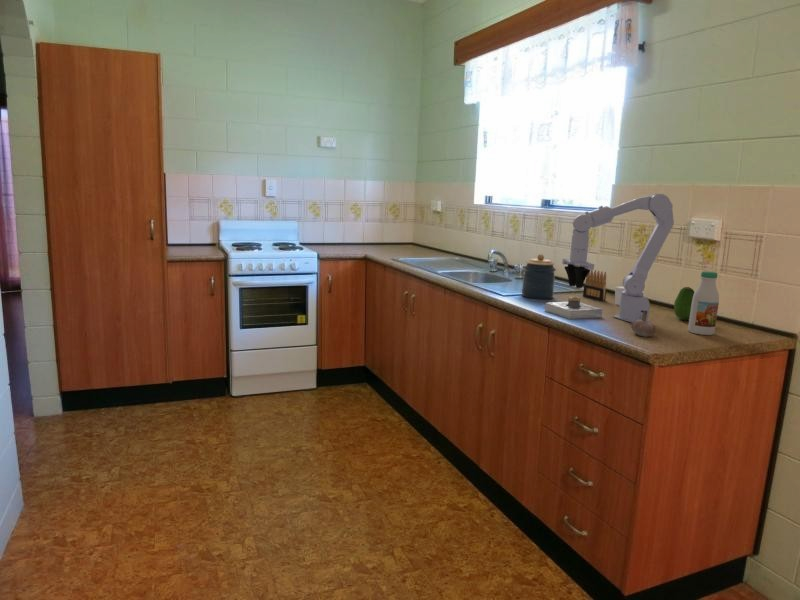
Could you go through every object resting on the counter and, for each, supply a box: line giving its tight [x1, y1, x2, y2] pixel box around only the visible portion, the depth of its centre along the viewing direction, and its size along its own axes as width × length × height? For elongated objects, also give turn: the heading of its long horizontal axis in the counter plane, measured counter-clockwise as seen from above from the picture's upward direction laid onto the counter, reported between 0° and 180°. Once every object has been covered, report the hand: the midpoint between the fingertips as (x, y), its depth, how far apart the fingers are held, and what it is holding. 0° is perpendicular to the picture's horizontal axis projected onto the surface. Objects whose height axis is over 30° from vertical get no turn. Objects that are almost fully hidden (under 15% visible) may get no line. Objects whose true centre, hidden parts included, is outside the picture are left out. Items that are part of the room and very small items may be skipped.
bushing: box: [567, 296, 581, 307], centre depth 212 cm, size 4×4×6 cm
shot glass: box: [614, 285, 625, 306], centre depth 234 cm, size 7×7×7 cm
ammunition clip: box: [582, 269, 607, 302], centre depth 244 cm, size 11×2×12 cm, turn 29°
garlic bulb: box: [631, 310, 656, 338], centre depth 185 cm, size 8×7×8 cm
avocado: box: [673, 286, 695, 321], centre depth 209 cm, size 8×8×12 cm
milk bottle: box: [687, 270, 720, 336], centre depth 189 cm, size 8×8×20 cm
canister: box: [521, 253, 557, 300], centre depth 243 cm, size 13×13×18 cm
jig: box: [544, 301, 603, 320], centre depth 212 cm, size 14×14×3 cm
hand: (575, 286), depth 210 cm, fingers open, 3 cm apart
